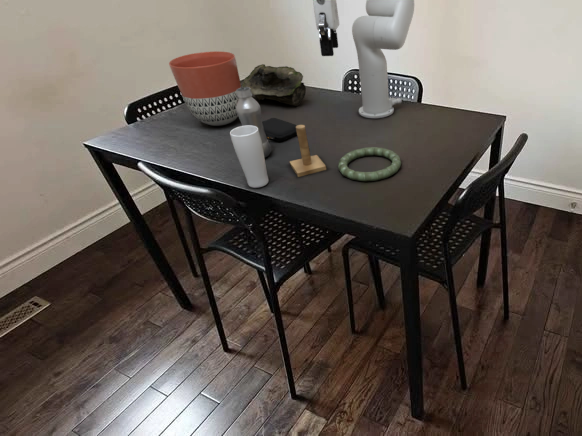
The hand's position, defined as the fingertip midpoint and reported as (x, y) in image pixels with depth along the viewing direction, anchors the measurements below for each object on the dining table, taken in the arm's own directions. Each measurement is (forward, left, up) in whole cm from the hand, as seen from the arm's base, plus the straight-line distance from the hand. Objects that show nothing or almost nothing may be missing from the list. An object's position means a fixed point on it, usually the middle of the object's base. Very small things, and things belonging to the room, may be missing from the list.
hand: (330, 51), depth 116 cm
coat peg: (+15, +12, -27) cm, 33 cm away
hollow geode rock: (+8, -45, -27) cm, 53 cm away
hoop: (0, +21, -26) cm, 33 cm away
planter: (+31, -36, -27) cm, 54 cm away
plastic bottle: (+25, -2, -27) cm, 37 cm away
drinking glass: (+29, +14, -27) cm, 42 cm away
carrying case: (+17, -16, -27) cm, 35 cm away
